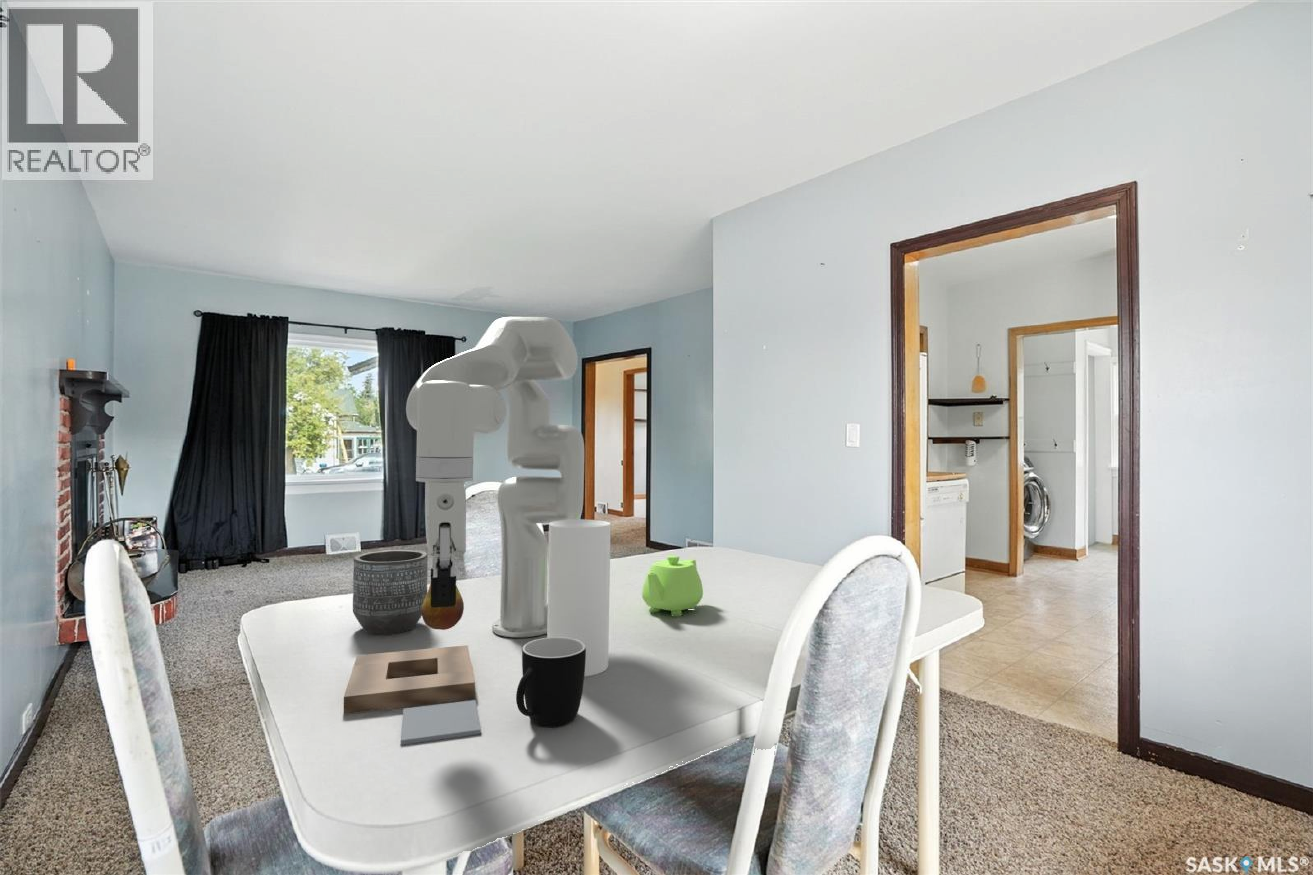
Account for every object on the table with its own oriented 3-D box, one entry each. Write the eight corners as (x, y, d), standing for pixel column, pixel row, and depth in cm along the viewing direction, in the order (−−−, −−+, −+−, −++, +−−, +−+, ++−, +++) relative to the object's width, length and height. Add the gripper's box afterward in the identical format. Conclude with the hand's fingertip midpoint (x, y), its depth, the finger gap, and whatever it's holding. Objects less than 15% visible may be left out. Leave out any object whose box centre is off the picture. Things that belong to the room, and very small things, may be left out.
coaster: (475, 704, 95) (475, 700, 95) (480, 733, 85) (480, 729, 85) (403, 712, 91) (403, 708, 91) (400, 744, 82) (400, 740, 82)
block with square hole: (467, 659, 113) (467, 645, 113) (474, 698, 96) (474, 682, 96) (356, 670, 107) (357, 655, 107) (343, 714, 90) (343, 696, 90)
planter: (336, 632, 127) (337, 558, 127) (390, 614, 140) (391, 547, 140) (390, 642, 122) (391, 564, 122) (441, 622, 135) (442, 552, 135)
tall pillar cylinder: (617, 659, 114) (619, 521, 114) (592, 681, 104) (595, 529, 104) (564, 652, 118) (566, 517, 118) (535, 672, 108) (537, 525, 108)
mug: (547, 699, 97) (549, 633, 97) (596, 713, 92) (598, 643, 92) (492, 731, 86) (493, 656, 86) (544, 747, 82) (545, 669, 82)
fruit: (451, 619, 92) (452, 537, 92) (470, 628, 88) (471, 542, 88) (413, 627, 88) (414, 541, 88) (431, 637, 84) (433, 546, 84)
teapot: (673, 625, 136) (674, 566, 136) (623, 615, 143) (624, 559, 143) (717, 605, 153) (718, 553, 153) (670, 597, 160) (671, 547, 160)
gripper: (477, 473, 81) (475, 615, 81) (469, 467, 97) (467, 585, 97) (414, 474, 79) (412, 620, 79) (417, 467, 95) (415, 588, 95)
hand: (442, 599), depth 88 cm, fingers closed on fruit, 5 cm apart
